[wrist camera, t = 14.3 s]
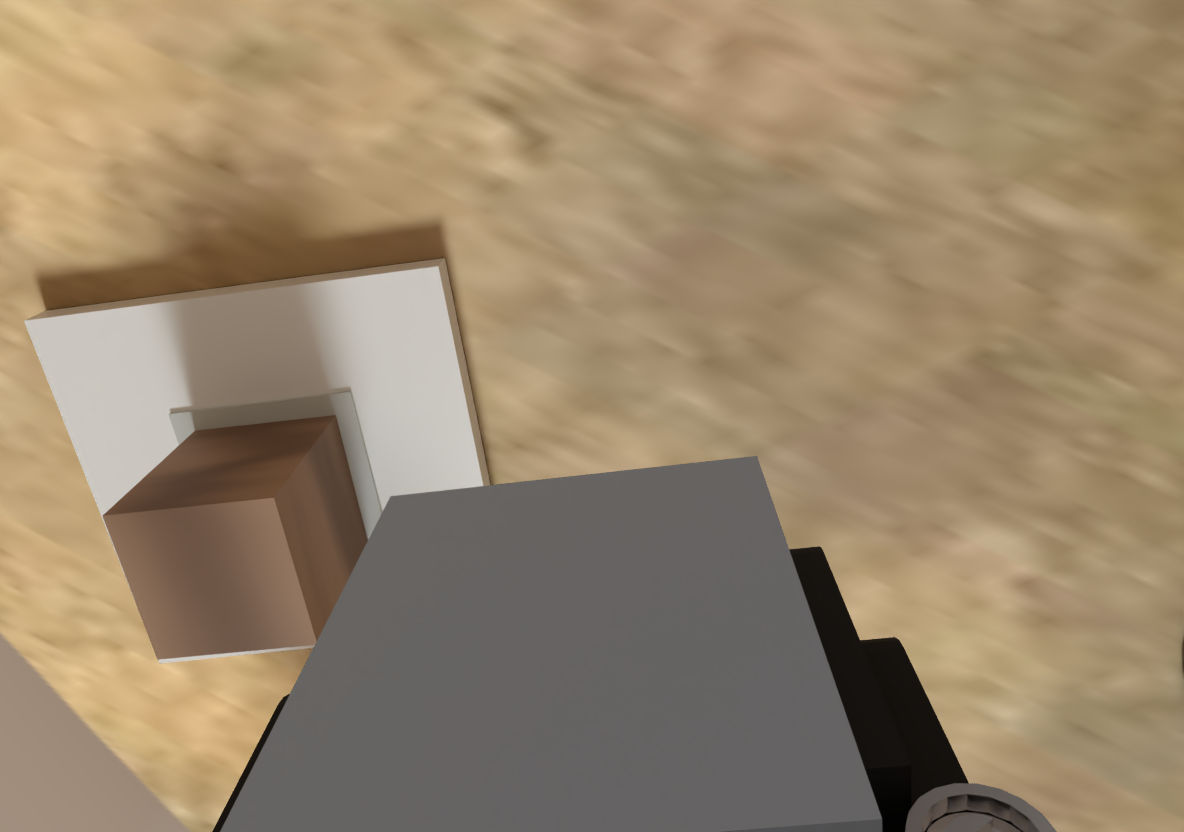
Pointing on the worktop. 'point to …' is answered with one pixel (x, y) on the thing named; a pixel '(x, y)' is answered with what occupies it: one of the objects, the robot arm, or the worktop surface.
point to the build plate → (272, 378)
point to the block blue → (568, 671)
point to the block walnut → (241, 538)
